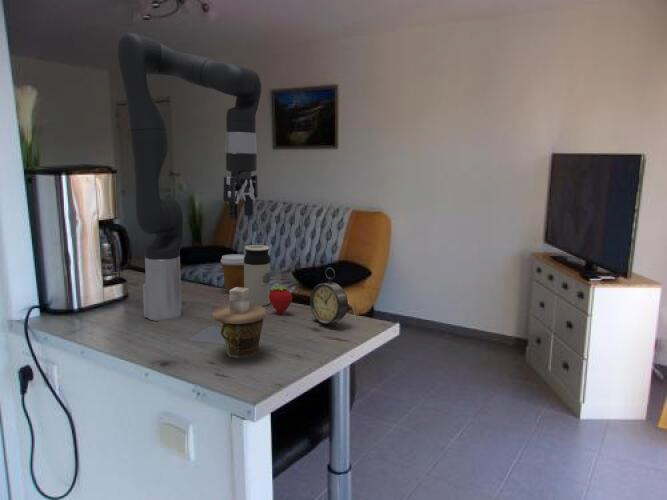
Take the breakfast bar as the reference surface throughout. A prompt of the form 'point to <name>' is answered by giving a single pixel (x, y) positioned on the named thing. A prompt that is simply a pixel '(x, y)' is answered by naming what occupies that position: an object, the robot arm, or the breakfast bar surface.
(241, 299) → the lid
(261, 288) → the travel mug
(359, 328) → the breakfast bar surface
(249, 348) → the ceramic cup
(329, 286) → the alarm clock
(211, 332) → the mat
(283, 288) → the strawberry
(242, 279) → the disposable coffee cup
